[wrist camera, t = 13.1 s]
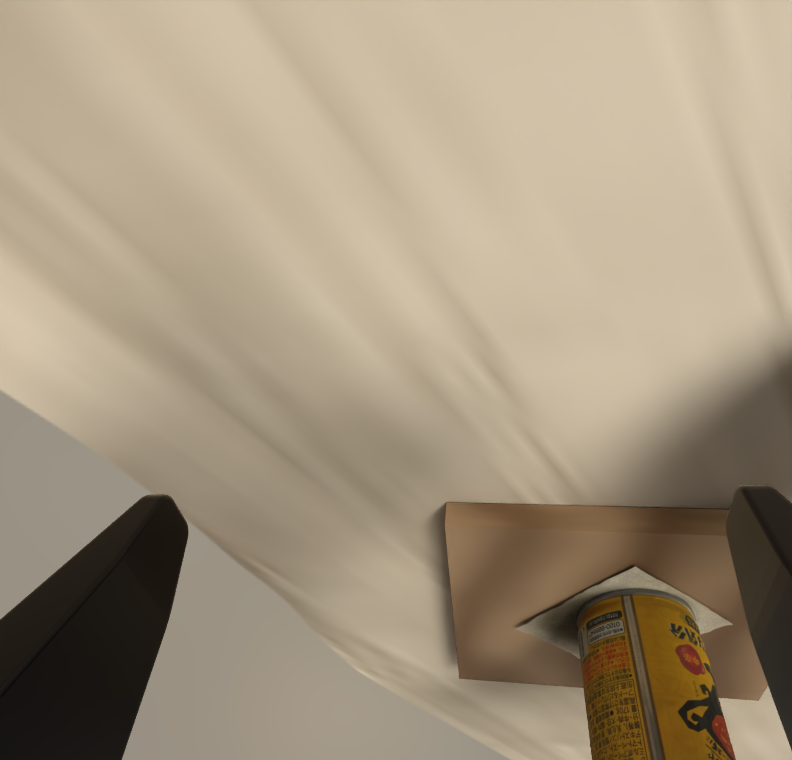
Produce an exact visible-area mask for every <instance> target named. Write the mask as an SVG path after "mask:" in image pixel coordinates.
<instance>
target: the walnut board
mask: <svg viewBox="0 0 792 760" xmlns="http://www.w3.org/2000/svg"><path fill="white" fill-rule="evenodd" d="M728 512H729V510H725V509H686V508H647V507H608V506H568V505H529V504H490V503H451V502H447V503H446V517H445V534H446V545H447V555H448V566H449V576H450V586H451V597H452V607H453V618H454V628H455V639H456V649H457V659H458V670H459V679H473V680H486V681H500V682H513V683H527V684H540V685H554V686H567V687H581V688H584V687H583V677H582V668H581V660H580V659H579V658H577V657H576V656H574V655H573V654H572V653H570V652H566V651H564V650H562V649H560V648H559V647H557V646H555V645H553V644H551V643H548V642H545V641H543V640H541V639H539V638H537V637H535V636H532V635H531V634H528V633H524V632H522V631H519V630H517V629H516V628H519V627H520V626H522V625H525V624H528V623H529V622H530V621H532V620H533V619H535V618H536V617H538V616H539V615H541V614H543V613H546V612H548V611H550V610H551V609H554V608H557V607H560V606H561V605H563V604H564V603H565V602H566V601H568V600H571V599H572V598H574V597H575V596H577V595H578V594H580V593H583V592H584V591H586V590H587V589H589V588H591V587H593V586H596V585H600V584H601V583H602V582H604V581H605V580H608V579H610V578H612V577H614V576H617V575H619V574H621V573H623V572H625V571H628V570H630V569H632V568H633V567H635V566H636V567H637V568H639V569H640V570H642V571H643V572H645V573H647V574H648V575H650V576H652V577H654V578H655V579H657V580H660V581H662V582H664V583H666V584H668V585H669V586H671V587H673V588H674V589H676V590H678V591H680V592H682V593H683V594H685V595H687V596H689V597H691V598H692V599H694V600H695V601H697V602H698V603H701V604H702V605H704V606H705V607H707V608H709V609H710V610H711V611H712V612H715V613H716V614H718V615H719V616H721V617H722V618H724V619H725V620H727V621H729V622H730V623H732V624H733V625H726V626H723V627H719V628H717V629H714V630H712V631H711V632H708V633H703V634H701V638H702V641H703V643H704V648H705V652H706V655H707V658H708V660H709V663H710V668H711V674H712V675H713V678H714V680H715V685H716V690H717V693H718V698H730V699H743V700H757V701H759V699H760V698H761V696H762V694H763V693H764V691H765V689H766V688H767V686H768V683H767V681H766V678H765V675H764V672H763V670H762V667H761V664H760V661H759V659H758V656H757V653H756V650H755V647H754V644H753V641H752V638H751V635H750V632H749V628H748V624H747V620H746V616H745V612H744V607H743V603H742V599H741V595H740V590H739V586H738V582H737V578H736V573H735V569H734V565H733V561H732V556H731V552H730V548H729V544H728V539H727V535H726V518H727V515H728Z"/></svg>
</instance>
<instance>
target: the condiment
mask: <svg viewBox="0 0 792 760" xmlns="http://www.w3.org/2000/svg"><path fill="white" fill-rule="evenodd" d="M726 625H733V624H732V623H730V622H729V621H727V620H725V619H724V618H722V617H721V616H719V615H718V614H716V613H715V612H712V611H711V610H710V609H709V608H707V607H705V606H704V605H702V604H701V603H698V602H697V601H695V600H694V599H692V598H691V597H689V596H687V595H685V594H683V593H682V592H680V591H678V590H676V589H674V588H673V587H671V586H669V585H668V584H666V583H664V582H662V581H660V580H657V579H655V578H654V577H652V576H650V575H648V574H647V573H645V572H643V571H642V570H640V569H639V568H637V567H636V566H635V567H633V568H632V569H630V570H628V571H625V572H623V573H621V574H619V575H617V576H614V577H612V578H610V579H608V580H605V581H604V582H602V583H601V584H600V585H596V586H593V587H591V588H589V589H587V590H586V591H584V592H583V593H580V594H578V595H577V596H575V597H574V598H572V599H571V600H568V601H566V602H565V603H564V604H563V605H561V606H560V607H557V608H554V609H551V610H550V611H548V612H546V613H543V614H541V615H539V616H538V617H536V618H535V619H533V620H532V621H530V622H529V623H528V624H525V625H522V626H520V627H519V628H516V629H517V630H519V631H522V632H524V633H528V634H531V635H532V636H535V637H537V638H539V639H541V640H543V641H545V642H548V643H551V644H553V645H555V646H557V647H559V648H560V649H562V650H564V651H566V652H570V653H572V654H573V655H574V656H576V657H577V658H579V659H580V660H581V668H582V677H583V687H584V694H585V703H586V712H587V719H588V729H589V737H590V747H591V754H592V760H736V759H735V755H734V751H733V748H732V744H731V742H730V738H729V734H728V731H727V727H726V723H725V719H724V716H723V713H722V710H721V706H720V702H719V699H718V693H717V690H716V685H715V680H714V678H713V675H712V674H711V668H710V663H709V660H708V658H707V655H706V652H705V648H704V643H703V641H702V638H701V634H703V633H708V632H711V631H712V630H714V629H717V628H719V627H723V626H726Z"/></svg>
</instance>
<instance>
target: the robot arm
mask: <svg viewBox="0 0 792 760" xmlns="http://www.w3.org/2000/svg"><path fill="white" fill-rule="evenodd" d="M726 535H727V539H728V544H729V548H730V552H731V556H732V561H733V565H734V569H735V573H736V578H737V582H738V586H739V590H740V595H741V599H742V603H743V607H744V612H745V616H746V620H747V624H748V628H749V632H750V635H751V638H752V641H753V644H754V647H755V650H756V653H757V656H758V659H759V661H760V664H761V667H762V670H763V672H764V675H765V678H766V681H767V683H768V686H769V689H770V692H771V695H772V697H773V700H774V703H775V706H776V708H777V711H778V714H779V717H780V719H781V722H782V725H783V728H784V730H785V733H786V736H787V739H788V741H789V744H790V747H791V750H792V503H790V502H789V501H788V500H787V499H786V498H785V497H783V496H782V495H781V494H780V493H779V492H778V491H777V490H775V489H774V488H773V487H771V486H768V485H740V486H738V487H737V488H736V490H735V492H734V495H733V499H732V502H731V505H730V508H729V512H728V515H727V518H726ZM187 539H188V525H187V522H186V520H185V519H184V517H183V515H182V514H181V512H180V510H179V509H178V507H177V505H176V504H175V502H174V500H173V499H172V498H171V497H170V496H168V495H147V496H145V497H142V498H141V499H140V500H139V501H137V502H136V503H135V504H134V505H133V506H132V507H130V508H129V509H128V510H127V511H126V512H125V513H123V514H122V515H121V516H120V517H119V518H118V519H116V520H115V521H114V522H113V523H112V524H111V525H110V526H108V527H107V528H106V529H105V530H104V531H103V532H101V533H100V534H99V535H98V536H97V537H96V538H95V539H93V540H92V541H91V542H90V543H89V544H87V545H86V546H85V547H84V548H83V549H82V550H80V551H79V552H78V553H77V554H76V555H75V556H73V557H72V558H71V559H70V560H69V561H68V562H67V563H65V564H64V565H63V566H62V567H61V568H60V569H58V570H57V571H56V572H55V573H54V574H53V575H51V576H50V577H49V578H48V579H47V580H46V581H45V582H43V583H42V584H41V585H40V586H39V587H37V589H35V590H34V591H33V592H32V593H31V594H29V595H28V596H27V597H26V598H25V599H24V600H23V601H21V603H19V604H18V605H17V606H15V607H14V608H13V609H12V610H11V611H10V612H8V613H7V614H6V615H5V616H4V617H3V618H2V619H0V760H122V757H123V754H124V751H125V748H126V745H127V742H128V739H129V737H130V733H131V731H132V728H133V725H134V722H135V719H136V716H137V713H138V710H139V706H140V704H141V701H142V698H143V695H144V692H145V689H146V686H147V683H148V680H149V677H150V674H151V671H152V669H153V666H154V663H155V660H156V657H157V654H158V651H159V648H160V645H161V642H162V639H163V636H164V633H165V630H166V627H167V623H168V620H169V617H170V613H171V609H172V605H173V601H174V596H175V592H176V588H177V583H178V578H179V574H180V569H181V566H182V561H183V557H184V552H185V548H186V544H187Z"/></svg>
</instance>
